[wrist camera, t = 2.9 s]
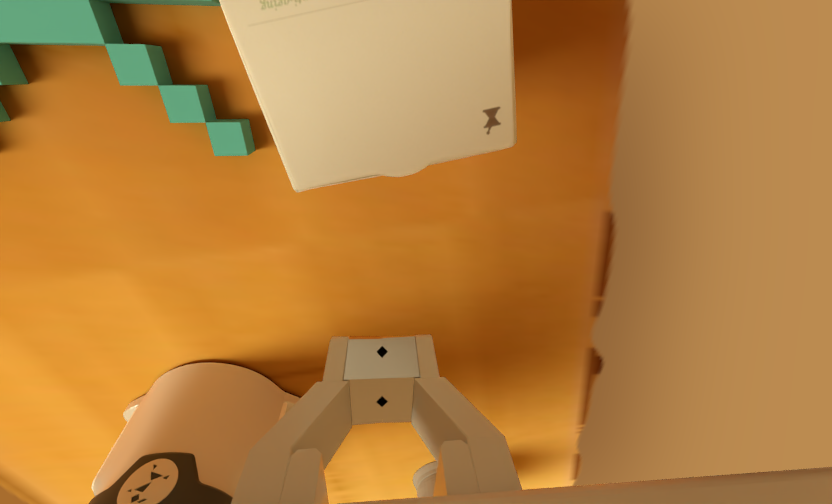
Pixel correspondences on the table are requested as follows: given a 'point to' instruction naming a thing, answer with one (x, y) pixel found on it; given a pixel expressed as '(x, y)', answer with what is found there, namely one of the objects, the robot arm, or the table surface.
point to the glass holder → (425, 480)
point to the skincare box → (378, 82)
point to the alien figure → (115, 59)
